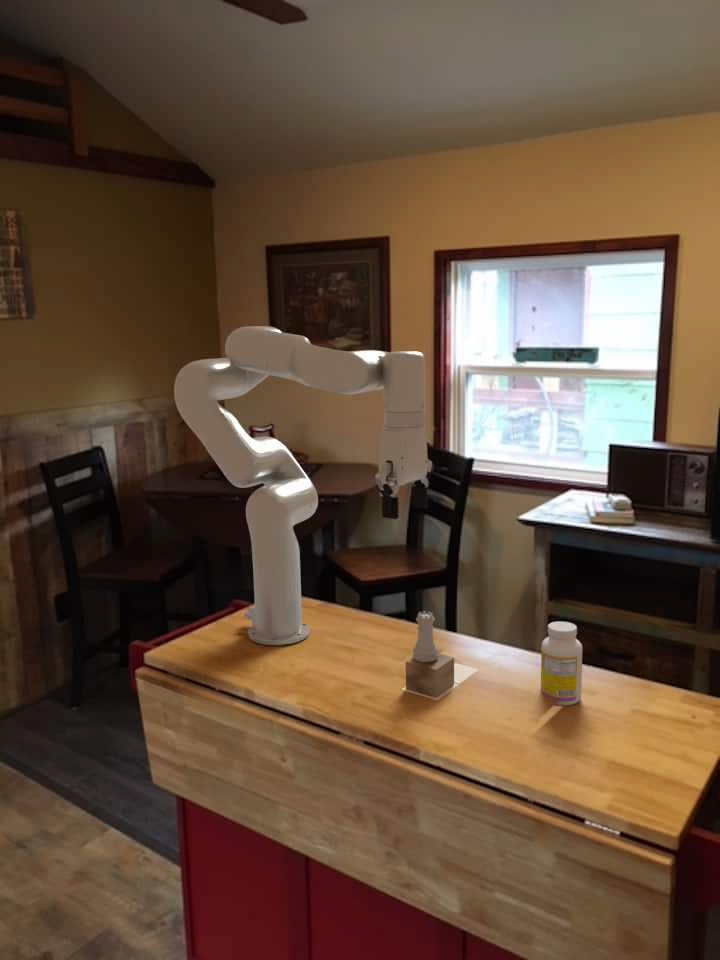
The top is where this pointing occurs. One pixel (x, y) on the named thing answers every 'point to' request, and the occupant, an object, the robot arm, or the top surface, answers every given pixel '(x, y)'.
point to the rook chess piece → (425, 639)
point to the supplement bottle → (561, 664)
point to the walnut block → (430, 675)
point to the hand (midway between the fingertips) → (405, 512)
